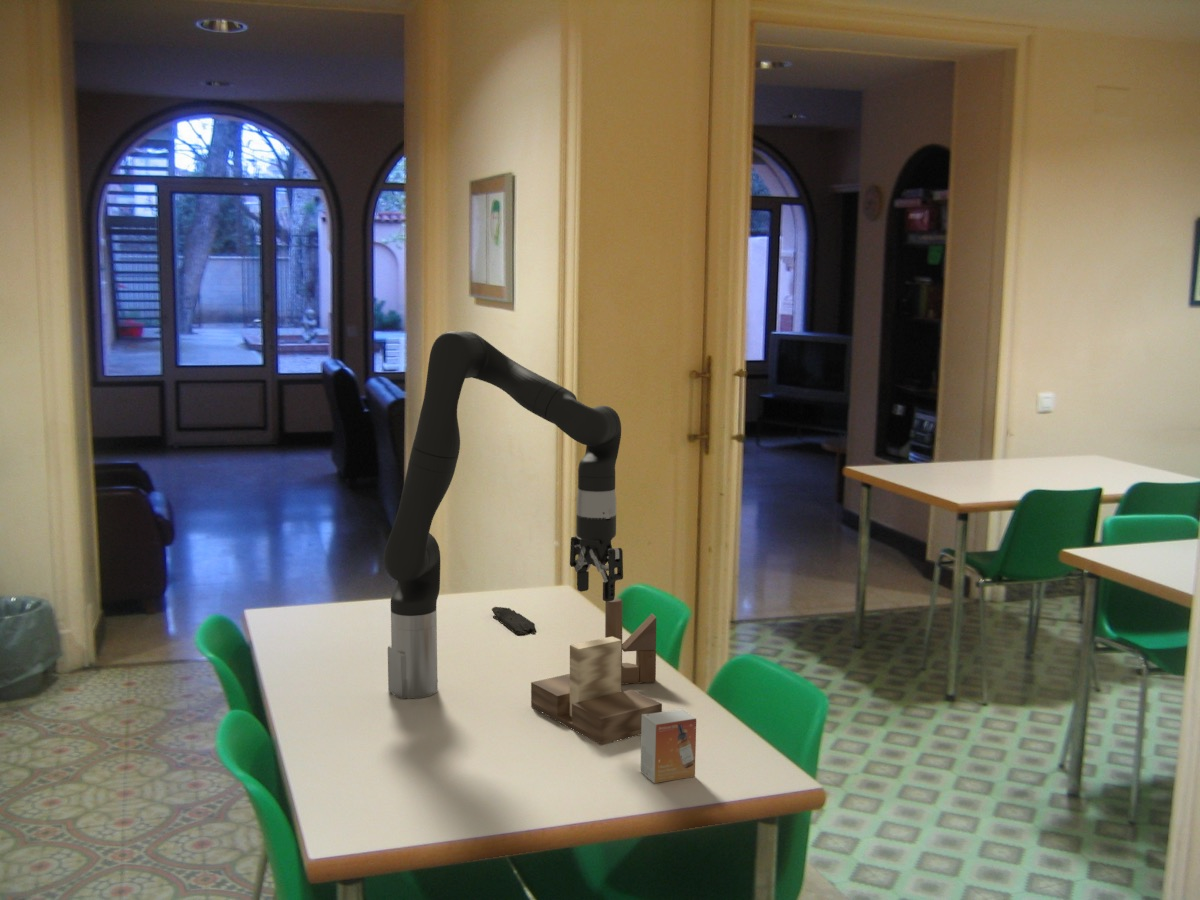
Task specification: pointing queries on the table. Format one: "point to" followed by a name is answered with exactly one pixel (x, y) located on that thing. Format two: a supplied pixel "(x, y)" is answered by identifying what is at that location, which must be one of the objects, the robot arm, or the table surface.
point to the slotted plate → (593, 710)
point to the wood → (514, 621)
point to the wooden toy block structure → (633, 644)
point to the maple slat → (594, 669)
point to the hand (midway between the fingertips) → (595, 595)
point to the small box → (668, 745)
